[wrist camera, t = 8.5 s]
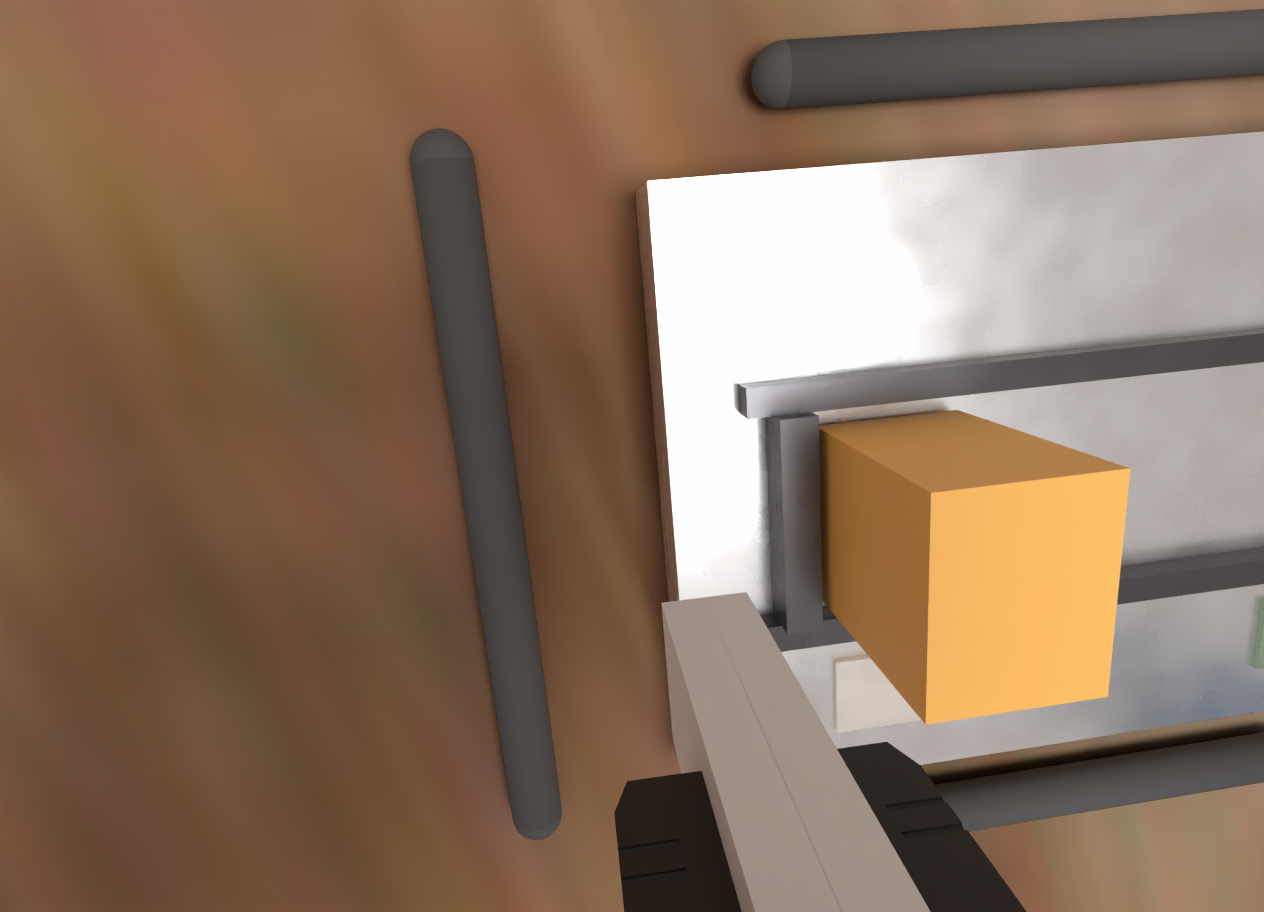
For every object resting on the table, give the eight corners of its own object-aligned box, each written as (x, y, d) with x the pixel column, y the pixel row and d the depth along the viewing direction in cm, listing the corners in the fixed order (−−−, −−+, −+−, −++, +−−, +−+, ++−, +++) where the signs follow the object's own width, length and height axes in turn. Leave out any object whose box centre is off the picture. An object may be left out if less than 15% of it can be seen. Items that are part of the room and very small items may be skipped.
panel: (680, 748, 24) (703, 832, 21) (635, 191, 20) (655, 173, 16) (1364, 645, 27) (1494, 704, 23) (1468, 124, 22) (1652, 94, 18)
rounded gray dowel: (563, 811, 24) (564, 847, 23) (517, 818, 24) (514, 855, 23) (472, 132, 19) (465, 120, 17) (411, 137, 19) (398, 125, 17)
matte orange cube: (818, 596, 20) (925, 724, 15) (815, 425, 19) (930, 493, 13) (951, 578, 21) (1108, 696, 15) (957, 409, 19) (1130, 468, 14)
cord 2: (775, 836, 26) (789, 872, 24) (774, 800, 25) (788, 833, 24) (1269, 756, 27) (1312, 784, 26) (1275, 720, 27) (1319, 747, 26)
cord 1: (745, 116, 20) (762, 103, 18) (742, 52, 19) (759, 33, 18) (1386, 69, 21) (1451, 54, 20) (1396, 9, 21) (1464, -12, 19)
